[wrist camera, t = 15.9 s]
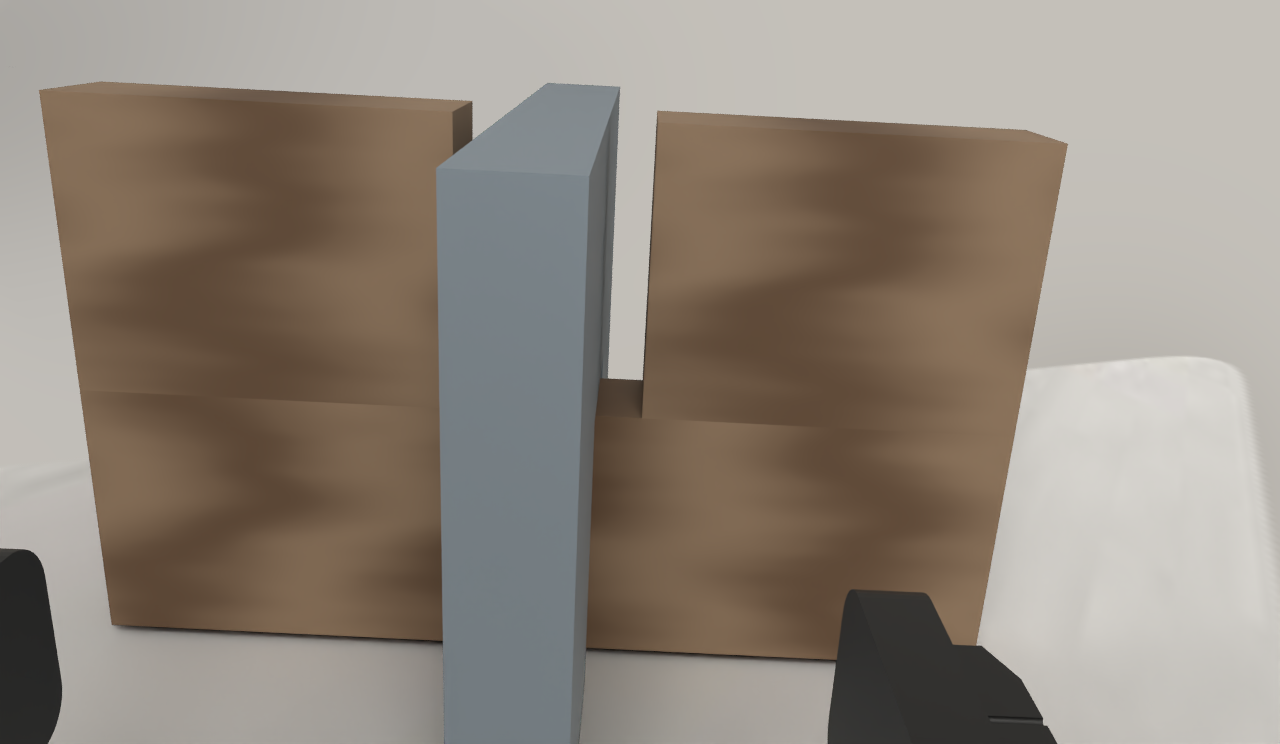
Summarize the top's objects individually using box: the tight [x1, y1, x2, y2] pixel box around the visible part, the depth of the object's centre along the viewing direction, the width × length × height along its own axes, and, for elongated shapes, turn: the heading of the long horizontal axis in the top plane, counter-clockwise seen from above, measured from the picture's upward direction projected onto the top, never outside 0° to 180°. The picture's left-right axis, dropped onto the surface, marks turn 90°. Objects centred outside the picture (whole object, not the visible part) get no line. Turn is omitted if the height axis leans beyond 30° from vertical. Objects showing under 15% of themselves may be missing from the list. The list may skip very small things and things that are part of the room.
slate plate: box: [436, 83, 620, 744], centre depth 23 cm, size 2×16×12 cm, turn 179°
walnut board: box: [39, 82, 1068, 660], centre depth 23 cm, size 20×2×12 cm, turn 89°
